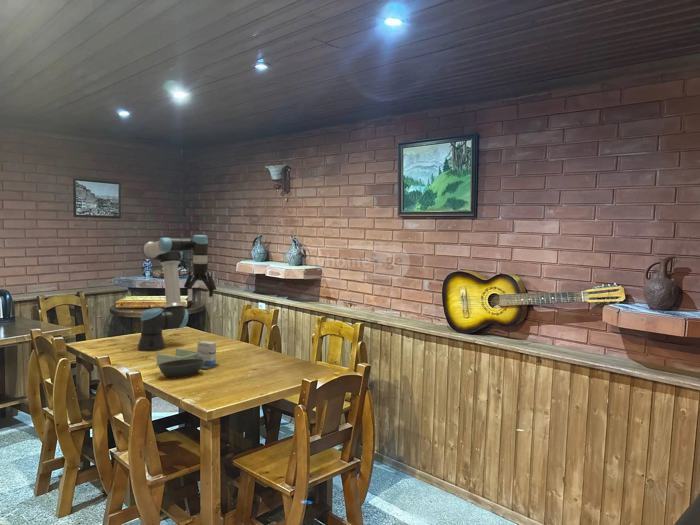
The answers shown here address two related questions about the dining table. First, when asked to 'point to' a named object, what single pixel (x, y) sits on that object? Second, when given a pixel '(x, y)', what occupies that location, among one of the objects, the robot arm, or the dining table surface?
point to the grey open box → (177, 356)
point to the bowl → (181, 368)
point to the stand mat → (208, 367)
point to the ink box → (207, 352)
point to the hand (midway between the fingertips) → (199, 301)
